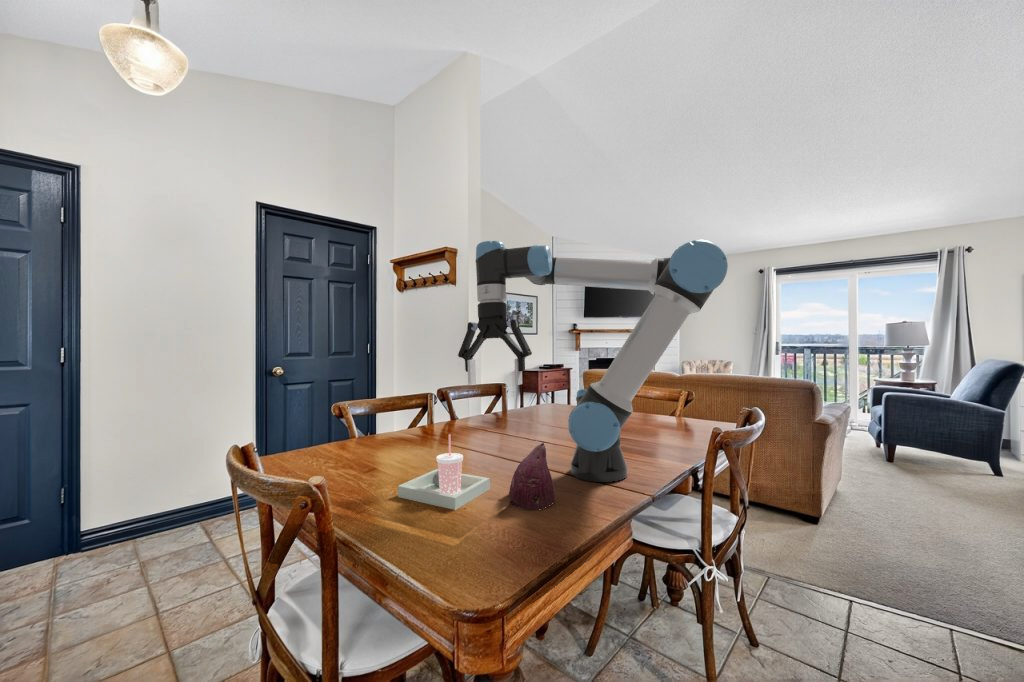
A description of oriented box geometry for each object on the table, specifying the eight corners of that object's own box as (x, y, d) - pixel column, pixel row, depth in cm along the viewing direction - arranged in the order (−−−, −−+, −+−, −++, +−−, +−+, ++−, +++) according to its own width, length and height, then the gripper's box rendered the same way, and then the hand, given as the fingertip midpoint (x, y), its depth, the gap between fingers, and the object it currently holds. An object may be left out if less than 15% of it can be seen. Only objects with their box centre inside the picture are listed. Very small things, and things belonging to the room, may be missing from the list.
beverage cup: (451, 488, 99) (451, 430, 99) (469, 494, 95) (468, 434, 95) (431, 496, 94) (430, 435, 94) (448, 502, 90) (448, 438, 90)
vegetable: (554, 509, 97) (571, 447, 98) (546, 521, 87) (564, 452, 88) (513, 493, 100) (529, 433, 101) (500, 504, 90) (519, 437, 91)
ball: (448, 485, 102) (448, 472, 102) (440, 489, 99) (440, 475, 99) (438, 483, 103) (438, 470, 103) (430, 486, 100) (429, 473, 100)
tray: (489, 492, 99) (489, 478, 99) (455, 514, 87) (455, 498, 87) (436, 482, 107) (436, 469, 107) (397, 501, 94) (397, 485, 94)
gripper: (443, 305, 109) (446, 385, 109) (531, 297, 98) (534, 386, 98) (458, 306, 116) (461, 382, 116) (542, 299, 105) (545, 383, 105)
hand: (494, 384), depth 107 cm, fingers open, 13 cm apart
